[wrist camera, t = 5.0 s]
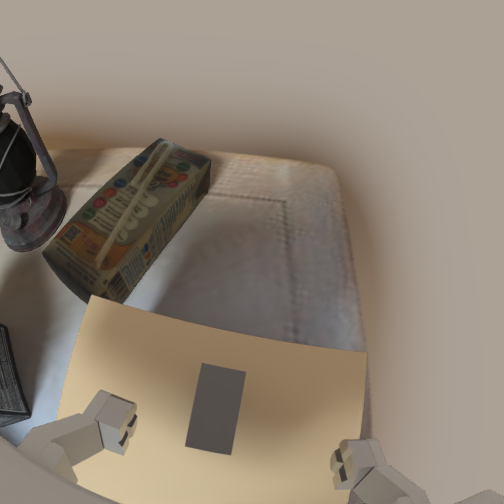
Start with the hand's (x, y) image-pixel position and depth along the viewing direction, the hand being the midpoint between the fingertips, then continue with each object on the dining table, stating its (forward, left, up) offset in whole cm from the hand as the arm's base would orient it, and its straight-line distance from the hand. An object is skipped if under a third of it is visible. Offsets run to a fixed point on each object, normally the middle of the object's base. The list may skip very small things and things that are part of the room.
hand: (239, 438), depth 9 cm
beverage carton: (+21, +4, -15) cm, 26 cm away
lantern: (+27, +18, -15) cm, 36 cm away
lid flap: (-4, +3, -5) cm, 7 cm away
